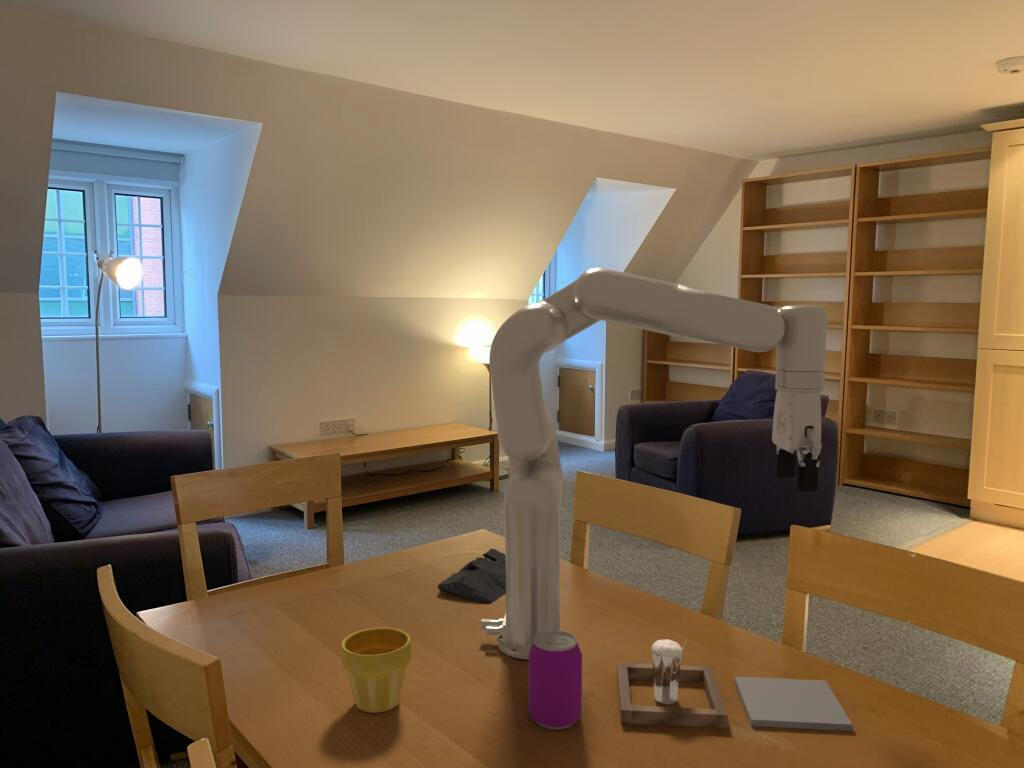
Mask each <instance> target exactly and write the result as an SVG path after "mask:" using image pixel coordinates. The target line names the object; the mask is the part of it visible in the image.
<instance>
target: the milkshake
mask: <svg viewBox="0 0 1024 768" xmlns="http://www.w3.org/2000/svg"><path fill="white" fill-rule="evenodd" d="M688 640H689V637H687V639H686V640H685V642H684V644H683V646H681V645H680V644H679V643H678V642H677V641H674V640H671V639H659V640H655V642H654V643H653V644H652V645H651V655H652V656H651V658H652V664H653V674H654V680H653V689H654V698H655V700H656V702H658V703H660V704H662V705H673V704H675V703H676V702H677V700H678V692H679V682H680V681H679V673H680V665H681V663H682V656H683V650H684V648H685V646H686V643H687V642H688Z"/></svg>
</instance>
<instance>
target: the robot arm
mask: <svg viewBox="0 0 1024 768" xmlns="http://www.w3.org/2000/svg"><path fill="white" fill-rule="evenodd" d="M599 321H604V322H608V323H612V324H613V323H614V324H616V325H617V324H619V325H622V326H626V327H631V328H636V329H641V330H643V331H650V332H654V333H658V334H664V335H667V336H671V337H680V338H681V337H682V338H688V339H689V338H690V339H696V340H699V341H703V342H709V343H714V344H717V345H723V346H727V347H730V348H731V347H732V348H736V349H740V350H745V351H749V352H754V353H755V352H756V353H764V352H768V351H770V350H773V349H774V348H776V356H775V357H776V359H775V360H776V361H775V362H776V363H775V387H774V389H775V390H776V394H775V400H774V401H775V402H774V408H773V420H772V421H773V422H772V431H771V432H772V434H771V440H772V443H773V444H774V445H776V447H775V452H776V454H775V455H776V457H775V458H776V459H775V477H777V478H795V477H796V483H795V485H796V486H795V489H796V491H798V492H817V491H818V481H819V467H820V459H821V451H822V442H821V441H822V402H821V401H822V400H821V392H824V391H825V377H826V376H825V372H826V371H825V370H826V352H827V351H826V348H827V327H828V312H827V310H826V309H825V308H824V307H823V306H821V305H814V304H813V305H812V304H811V305H810V304H808V305H807V304H805V305H804V304H794V305H792V304H791V305H785V306H772V305H769V304H765V303H759V302H756V301H750V300H746V299H741V298H738V297H737V298H736V297H732V296H727V295H722V294H717V293H712V292H708V291H703V290H700V289H696V288H694V287H693V288H692V287H691V286H687V285H683V284H680V283H677V282H672V281H671V282H670V281H666V280H661V279H658V278H657V279H655V278H652V277H647V276H642V275H637V274H632V273H629V272H624V271H623V272H622V271H619V270H614V269H609V268H604V267H594V268H593V267H592V268H589V269H587V270H585V271H584V272H582V273H581V274H580V275H579V276H578V278H577V279H575V280H574V281H573V282H571V283H569V284H568V285H566V286H564V287H563V288H561V289H559V290H558V291H555V292H554V293H552V294H551V295H549V296H547V297H545V298H544V299H542V300H540V301H538V302H534V303H530V304H527V305H525V306H523V307H522V308H520V309H517V311H515V312H514V313H513V314H511V316H509V317H508V318H507V319H506V320H505V321H504V322H503V323H502V324H501V325H500V326H499V328H498V330H497V331H496V333H495V335H494V337H493V340H492V342H491V346H490V349H489V361H488V362H489V374H490V380H491V390H492V399H493V407H494V412H495V414H494V415H495V419H496V420H495V421H496V430H497V440H498V443H499V446H500V448H501V450H502V452H503V453H504V454H505V455H506V457H508V458H507V459H508V465H509V469H510V479H509V481H508V483H507V485H506V488H505V491H504V495H503V519H504V522H503V523H504V536H505V537H504V539H505V541H504V542H505V549H504V550H505V551H504V554H505V560H506V594H505V614H504V617H499V618H498V619H492V618H481V620H480V621H481V622H480V630H482V631H485V635H486V636H487V635H489V636H490V635H491V636H493V635H497V637H496V646H497V649H499V650H500V652H502V653H503V654H505V655H506V656H509V657H511V658H515V659H519V660H527V661H529V652H530V649H531V647H532V644H533V642H534V638H535V636H536V635H537V634H539V633H541V632H545V631H554V630H556V631H562V630H561V629H560V623H561V621H560V620H561V619H560V618H561V617H560V615H561V613H560V611H561V608H560V606H561V605H560V604H561V521H560V520H561V501H562V495H563V489H564V477H563V471H562V470H563V469H562V463H561V457H560V448H559V444H558V437H557V428H556V425H555V424H556V423H555V420H554V417H553V415H552V413H551V412H550V411H549V409H548V408H547V407H546V406H545V401H544V394H543V385H542V384H543V383H542V380H541V379H542V378H541V375H540V374H541V372H540V361H541V359H542V357H543V355H544V354H546V353H547V352H550V351H552V350H554V349H555V348H556V347H558V346H559V345H561V344H562V343H564V342H566V341H568V340H569V339H571V338H572V337H574V336H577V335H578V334H580V333H581V332H583V331H585V330H586V329H588V328H590V327H591V326H592V327H593V325H595V324H597V323H598V322H599ZM795 451H796V453H795ZM804 455H805V456H804ZM797 459H798V464H799V465H796V464H797Z"/></svg>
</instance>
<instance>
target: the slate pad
mask: <svg viewBox="0 0 1024 768" xmlns="http://www.w3.org/2000/svg"><path fill="white" fill-rule="evenodd" d="M734 684H735V688H736V690H737V693H738V696H739V698H740V700H741V704H742V706H743V708H744V712H745V715H746V717H747V720H748V722H749V724H750V727H758V728H759V727H760V728H761V727H762V728H778V729H779V728H780V729H782V728H783V729H784V728H785V729H798V730H800V729H801V730H817V731H819V730H820V731H821V730H822V731H840V732H841V731H842V732H853V726H854V725H853V722H852V721H851V719H850V718H849V716H848V715H847V713H846V711H845V709H844V708H843V706H842V705H841V704H840V701H839V700H838V699H837V697H836V695H835V693H834V691H833V690H832V688H831V687H830V685H829V684H828V682H827V681H826V680H822V679H821V680H819V679H800V678H799V679H798V678H797V679H796V678H775V677H756V676H755V677H753V676H752V677H751V676H734Z"/></svg>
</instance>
